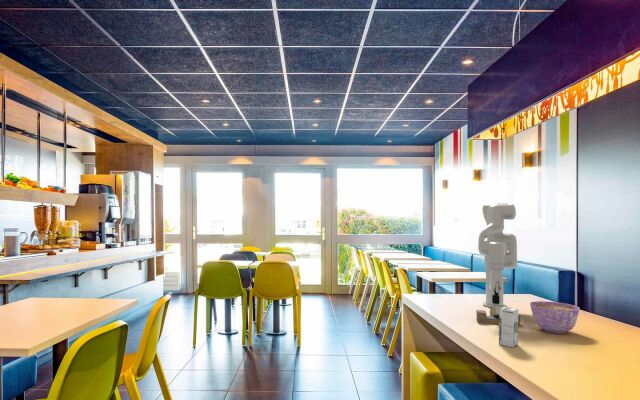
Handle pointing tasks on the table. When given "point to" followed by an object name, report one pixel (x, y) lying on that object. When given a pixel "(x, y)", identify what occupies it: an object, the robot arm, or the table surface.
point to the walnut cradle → (489, 318)
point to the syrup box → (508, 326)
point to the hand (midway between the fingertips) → (495, 303)
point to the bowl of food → (554, 316)
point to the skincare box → (496, 311)
